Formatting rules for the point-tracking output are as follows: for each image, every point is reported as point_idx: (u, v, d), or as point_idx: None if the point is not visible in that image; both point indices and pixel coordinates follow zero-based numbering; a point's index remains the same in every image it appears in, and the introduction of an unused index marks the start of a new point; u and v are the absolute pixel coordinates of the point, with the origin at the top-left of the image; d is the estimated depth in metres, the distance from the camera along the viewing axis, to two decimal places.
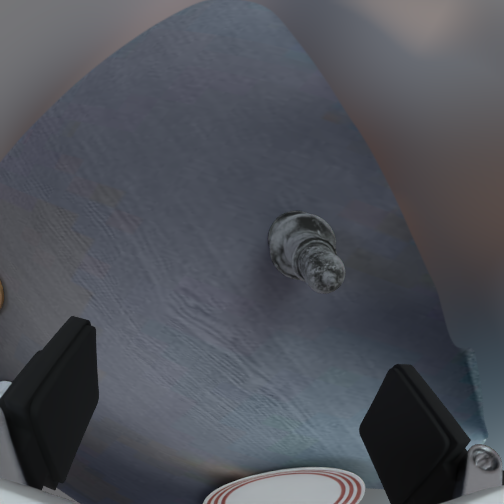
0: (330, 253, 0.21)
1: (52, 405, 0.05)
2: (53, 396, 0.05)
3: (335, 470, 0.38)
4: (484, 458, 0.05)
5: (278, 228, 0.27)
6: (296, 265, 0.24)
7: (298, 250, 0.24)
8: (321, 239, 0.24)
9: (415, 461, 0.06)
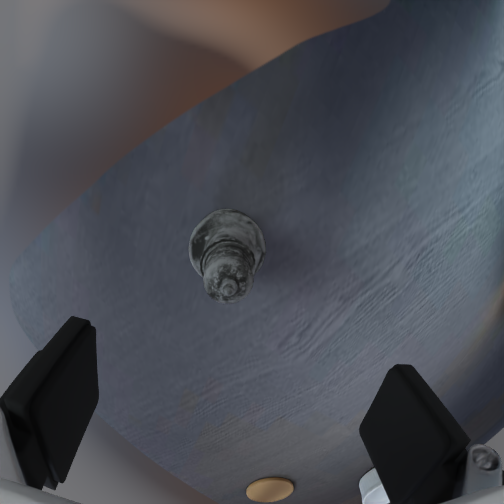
0: (204, 276, 0.18)
1: (52, 405, 0.05)
2: (53, 396, 0.05)
3: None
4: (484, 458, 0.05)
5: None
6: None
7: None
8: (201, 260, 0.21)
9: (415, 461, 0.06)
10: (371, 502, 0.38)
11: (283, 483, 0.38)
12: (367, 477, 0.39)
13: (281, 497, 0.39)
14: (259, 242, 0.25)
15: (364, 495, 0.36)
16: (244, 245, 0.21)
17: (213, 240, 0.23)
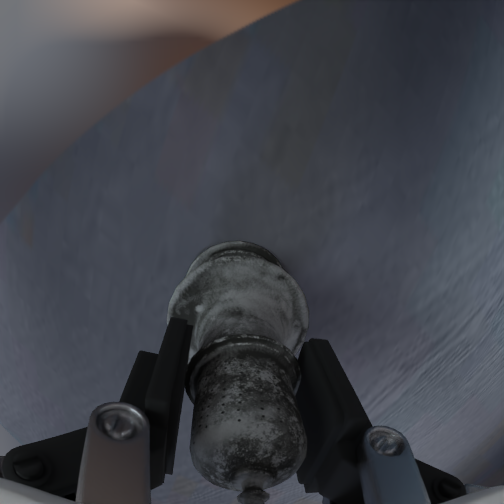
0: (191, 444, 0.07)
1: (180, 399, 0.07)
2: None
3: None
4: (385, 441, 0.06)
5: None
6: None
7: None
8: (187, 374, 0.09)
9: (315, 436, 0.07)
10: None
11: None
12: None
13: None
14: (298, 312, 0.13)
15: None
16: (280, 348, 0.09)
17: (212, 320, 0.11)
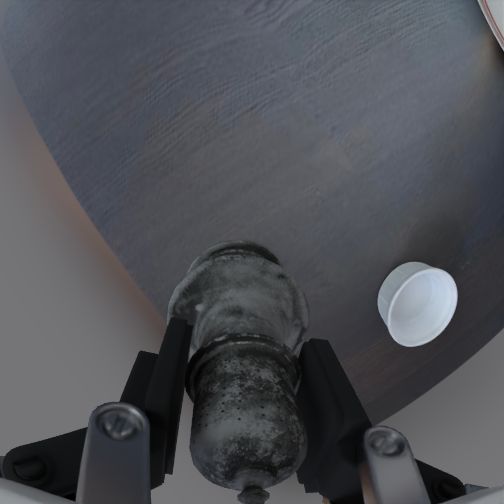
0: (191, 443, 0.07)
1: None
2: (181, 390, 0.07)
3: None
4: (385, 441, 0.06)
5: None
6: None
7: None
8: (187, 373, 0.09)
9: (315, 436, 0.07)
10: (400, 336, 0.31)
11: None
12: (388, 280, 0.32)
13: None
14: (298, 311, 0.13)
15: (389, 304, 0.29)
16: (280, 347, 0.09)
17: (212, 319, 0.11)
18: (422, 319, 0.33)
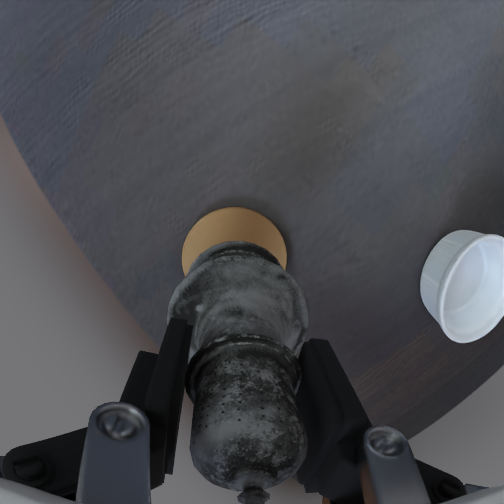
0: (191, 443, 0.07)
1: None
2: None
3: None
4: (385, 441, 0.06)
5: None
6: None
7: None
8: (188, 374, 0.09)
9: (315, 436, 0.07)
10: (451, 329, 0.21)
11: (262, 226, 0.21)
12: (436, 253, 0.22)
13: None
14: (298, 312, 0.13)
15: (442, 285, 0.20)
16: (280, 347, 0.09)
17: (212, 319, 0.11)
18: (472, 307, 0.23)
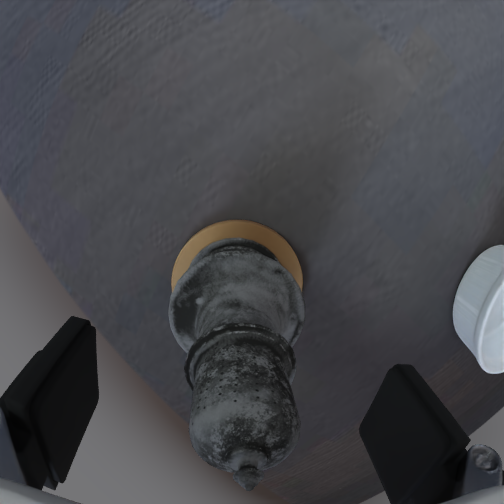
0: (190, 425, 0.07)
1: (52, 405, 0.05)
2: (53, 396, 0.05)
3: None
4: (484, 458, 0.05)
5: None
6: None
7: None
8: (188, 362, 0.10)
9: (415, 461, 0.06)
10: (486, 359, 0.17)
11: (273, 245, 0.17)
12: (473, 273, 0.17)
13: None
14: (295, 305, 0.13)
15: (482, 313, 0.15)
16: (275, 336, 0.10)
17: (211, 311, 0.12)
18: None
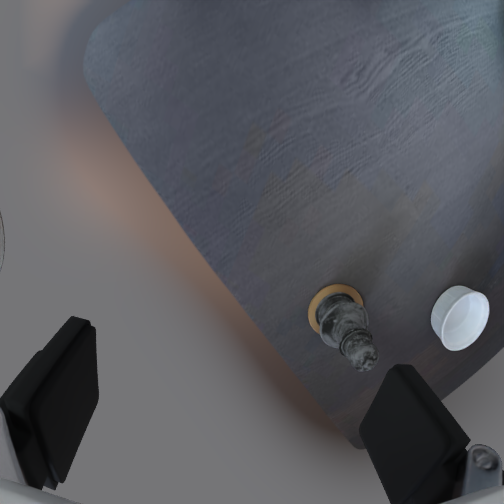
0: (352, 357, 0.28)
1: (52, 405, 0.05)
2: (53, 396, 0.05)
3: None
4: (484, 458, 0.05)
5: (328, 344, 0.35)
6: None
7: (346, 356, 0.31)
8: (341, 341, 0.31)
9: (415, 461, 0.06)
10: (448, 343, 0.37)
11: (352, 294, 0.37)
12: (440, 301, 0.38)
13: None
14: (365, 320, 0.34)
15: (442, 320, 0.36)
16: (367, 331, 0.31)
17: (342, 324, 0.33)
18: (462, 328, 0.40)
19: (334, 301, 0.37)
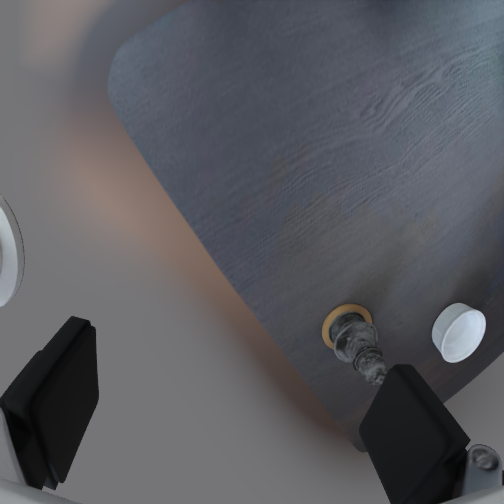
0: (365, 373, 0.31)
1: (52, 405, 0.05)
2: (53, 396, 0.05)
3: None
4: (484, 458, 0.05)
5: (341, 359, 0.38)
6: None
7: (358, 370, 0.34)
8: (355, 358, 0.33)
9: (415, 461, 0.06)
10: (447, 355, 0.40)
11: (363, 312, 0.40)
12: (441, 317, 0.41)
13: None
14: (375, 337, 0.37)
15: (443, 336, 0.39)
16: (378, 349, 0.33)
17: (355, 342, 0.35)
18: (459, 342, 0.43)
19: (346, 319, 0.40)
